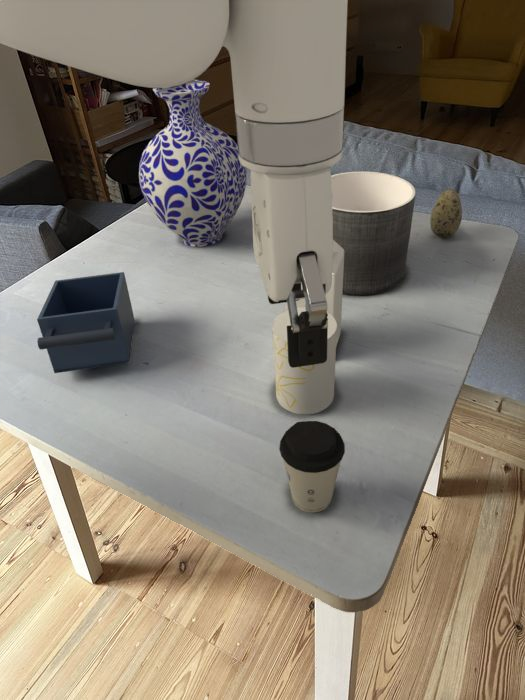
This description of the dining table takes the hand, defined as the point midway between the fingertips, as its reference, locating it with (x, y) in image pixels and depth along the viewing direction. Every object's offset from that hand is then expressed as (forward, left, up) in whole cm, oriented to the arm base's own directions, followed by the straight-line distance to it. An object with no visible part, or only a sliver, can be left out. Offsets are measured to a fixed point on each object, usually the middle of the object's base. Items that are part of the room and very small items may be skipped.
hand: (295, 329), depth 49 cm
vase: (-7, +69, -24) cm, 73 cm away
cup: (+4, +16, -23) cm, 29 cm away
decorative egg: (+42, +56, -24) cm, 74 cm away
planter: (+21, +47, -23) cm, 56 cm away
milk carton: (+8, +27, -24) cm, 37 cm away
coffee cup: (+1, -1, -24) cm, 24 cm away
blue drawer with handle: (-26, +30, -22) cm, 45 cm away
